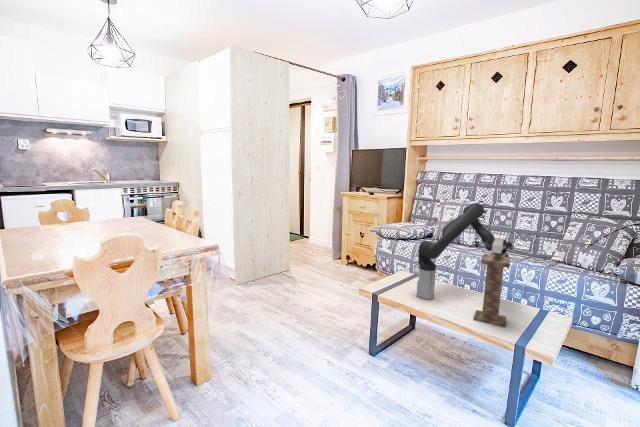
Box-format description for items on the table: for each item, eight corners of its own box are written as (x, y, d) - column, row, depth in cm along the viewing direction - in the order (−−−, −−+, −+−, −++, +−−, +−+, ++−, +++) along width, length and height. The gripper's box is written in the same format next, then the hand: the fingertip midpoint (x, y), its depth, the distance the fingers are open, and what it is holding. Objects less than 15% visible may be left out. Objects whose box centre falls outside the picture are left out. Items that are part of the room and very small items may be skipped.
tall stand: (473, 320, 164) (479, 259, 160) (476, 311, 175) (481, 253, 171) (505, 328, 157) (512, 264, 152) (506, 318, 168) (512, 257, 163)
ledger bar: (491, 252, 158) (492, 245, 158) (494, 244, 175) (495, 237, 174) (501, 253, 156) (501, 246, 156) (503, 245, 173) (503, 238, 172)
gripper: (485, 242, 189) (484, 231, 175) (514, 245, 181) (515, 235, 168) (484, 254, 187) (482, 245, 173) (512, 258, 179) (514, 249, 165)
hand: (499, 240), depth 170 cm, fingers closed on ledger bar, 4 cm apart
